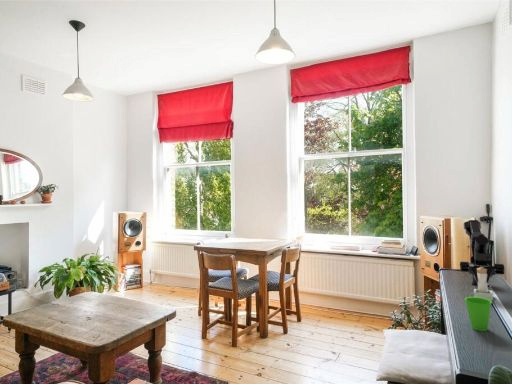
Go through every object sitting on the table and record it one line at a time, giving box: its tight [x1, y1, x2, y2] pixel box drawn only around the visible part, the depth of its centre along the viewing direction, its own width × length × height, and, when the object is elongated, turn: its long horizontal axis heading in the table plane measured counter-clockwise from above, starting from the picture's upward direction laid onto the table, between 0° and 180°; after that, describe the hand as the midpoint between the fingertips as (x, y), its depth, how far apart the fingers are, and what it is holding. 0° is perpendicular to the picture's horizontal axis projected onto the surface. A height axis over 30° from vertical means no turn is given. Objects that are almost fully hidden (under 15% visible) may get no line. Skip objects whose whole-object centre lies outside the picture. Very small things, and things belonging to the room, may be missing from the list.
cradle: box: [473, 288, 494, 302], centre depth 165 cm, size 8×8×3 cm
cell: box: [477, 267, 489, 293], centre depth 165 cm, size 4×4×14 cm
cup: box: [464, 296, 493, 332], centre depth 129 cm, size 9×9×11 cm
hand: (482, 282), depth 164 cm, fingers closed on cell, 4 cm apart
